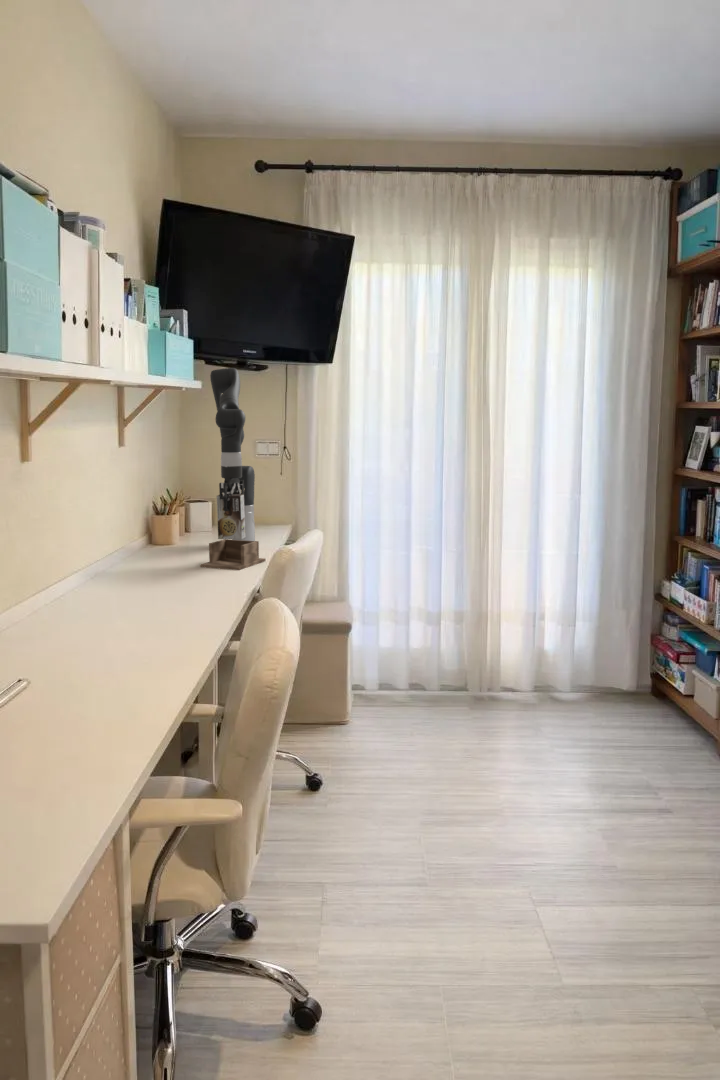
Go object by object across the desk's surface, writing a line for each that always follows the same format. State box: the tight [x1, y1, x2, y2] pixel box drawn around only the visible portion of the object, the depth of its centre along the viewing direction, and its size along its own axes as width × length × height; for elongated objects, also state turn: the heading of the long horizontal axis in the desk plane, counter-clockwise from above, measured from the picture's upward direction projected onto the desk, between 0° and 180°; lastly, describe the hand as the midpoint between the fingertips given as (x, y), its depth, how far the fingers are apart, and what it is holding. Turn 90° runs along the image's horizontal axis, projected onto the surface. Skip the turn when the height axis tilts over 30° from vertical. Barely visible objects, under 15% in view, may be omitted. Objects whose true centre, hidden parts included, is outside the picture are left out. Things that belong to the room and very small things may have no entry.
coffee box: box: [216, 493, 246, 540], centre depth 328 cm, size 9×6×16 cm
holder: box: [199, 539, 266, 571], centre depth 330 cm, size 20×16×8 cm
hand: (232, 509), depth 328 cm, fingers closed on coffee box, 7 cm apart
